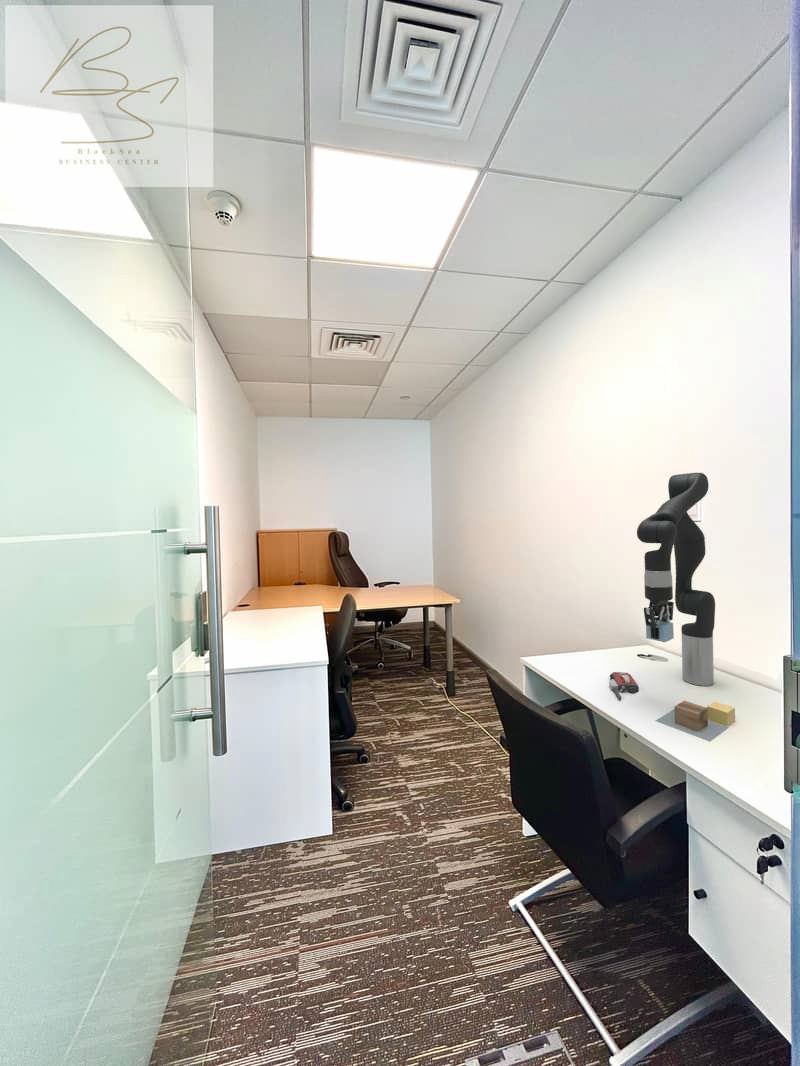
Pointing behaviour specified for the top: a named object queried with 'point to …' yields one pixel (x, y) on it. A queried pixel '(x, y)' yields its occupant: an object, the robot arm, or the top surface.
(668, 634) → the blue brick
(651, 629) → the robot arm
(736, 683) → the top surface
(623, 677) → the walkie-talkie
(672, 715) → the slate board
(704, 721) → the walnut brick
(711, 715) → the ochre brick
